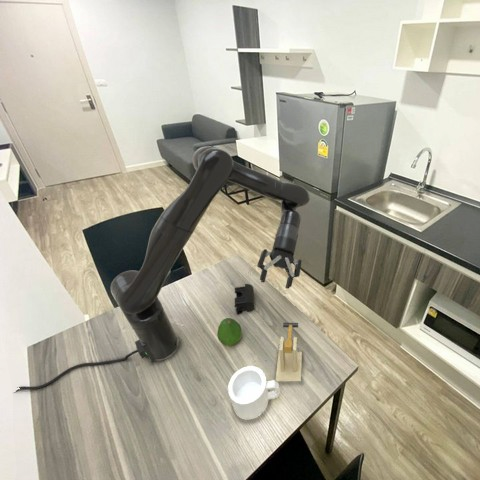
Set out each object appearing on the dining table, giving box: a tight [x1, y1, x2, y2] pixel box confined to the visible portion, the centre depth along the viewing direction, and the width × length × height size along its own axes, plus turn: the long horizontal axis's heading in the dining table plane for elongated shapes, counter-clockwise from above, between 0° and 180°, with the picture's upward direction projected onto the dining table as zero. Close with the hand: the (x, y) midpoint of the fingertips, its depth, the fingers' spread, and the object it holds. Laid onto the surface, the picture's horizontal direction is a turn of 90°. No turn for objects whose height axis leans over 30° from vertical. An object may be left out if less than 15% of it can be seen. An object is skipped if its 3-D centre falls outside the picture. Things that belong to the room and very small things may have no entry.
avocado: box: [216, 317, 243, 347], centre depth 91 cm, size 8×8×12 cm
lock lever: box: [282, 322, 299, 353], centre depth 85 cm, size 12×5×2 cm, turn 1°
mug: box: [227, 365, 281, 421], centre depth 76 cm, size 14×10×11 cm
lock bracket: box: [274, 336, 303, 382], centre depth 83 cm, size 10×8×14 cm
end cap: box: [234, 283, 255, 315], centre depth 106 cm, size 10×7×7 cm
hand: (275, 285), depth 86 cm, fingers open, 8 cm apart
